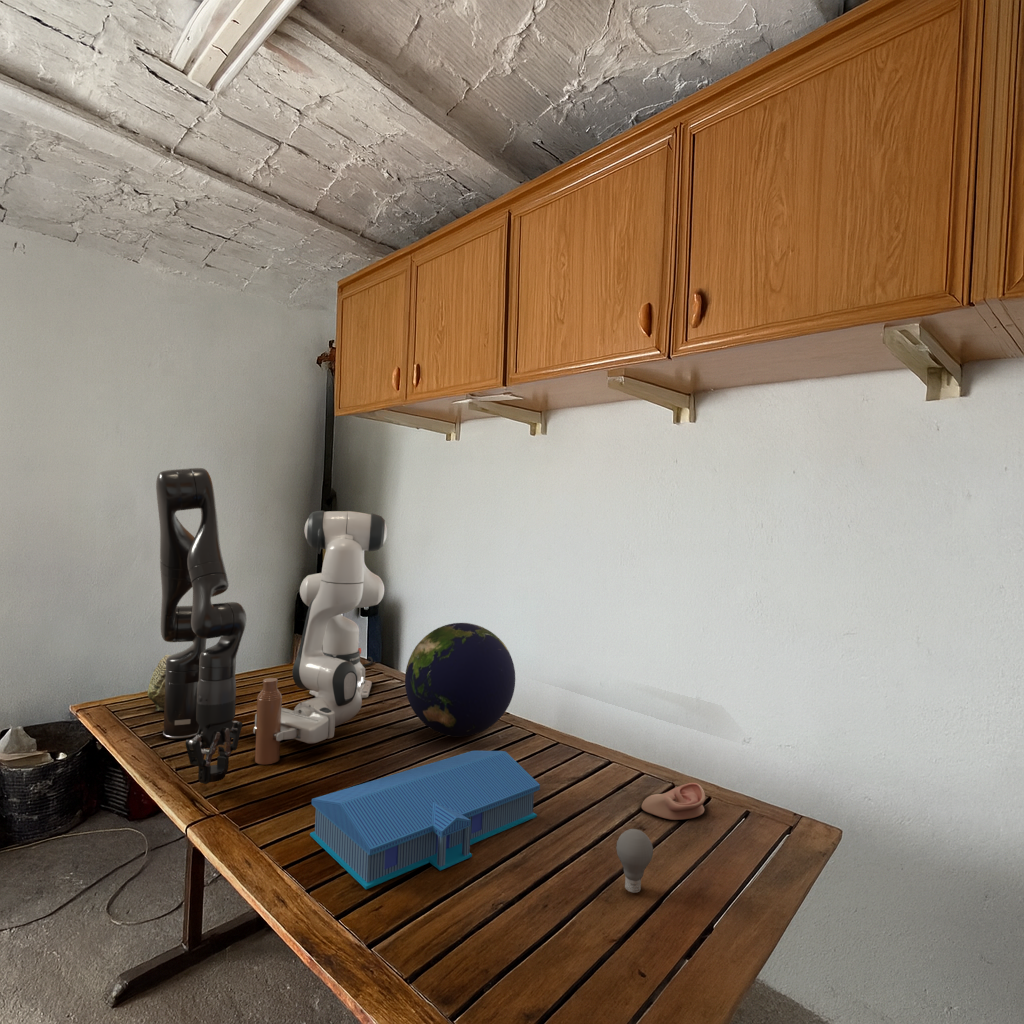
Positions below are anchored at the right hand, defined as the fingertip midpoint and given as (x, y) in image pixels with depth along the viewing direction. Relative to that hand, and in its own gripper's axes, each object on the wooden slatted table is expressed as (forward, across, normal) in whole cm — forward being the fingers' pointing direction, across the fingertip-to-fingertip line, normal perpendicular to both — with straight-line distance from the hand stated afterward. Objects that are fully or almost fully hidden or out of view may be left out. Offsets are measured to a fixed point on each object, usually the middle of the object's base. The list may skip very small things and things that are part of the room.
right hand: (265, 734), depth 150 cm
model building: (+3, +51, +6) cm, 52 cm away
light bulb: (+1, +91, +6) cm, 91 cm away
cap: (+16, +4, +2) cm, 17 cm away
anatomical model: (-32, +89, +6) cm, 95 cm away
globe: (-41, +28, +6) cm, 50 cm away
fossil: (-13, -50, +6) cm, 52 cm away
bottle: (-1, 0, +6) cm, 6 cm away
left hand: (+16, +4, +4) cm, 17 cm away
